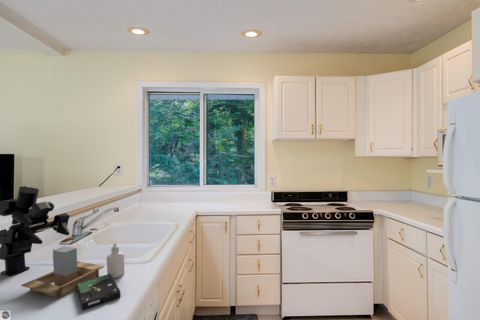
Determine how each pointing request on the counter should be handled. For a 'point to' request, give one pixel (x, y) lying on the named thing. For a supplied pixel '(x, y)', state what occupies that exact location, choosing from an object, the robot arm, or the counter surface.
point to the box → (64, 265)
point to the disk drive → (97, 291)
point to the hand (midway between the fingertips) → (55, 238)
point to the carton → (43, 287)
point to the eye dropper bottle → (115, 262)
